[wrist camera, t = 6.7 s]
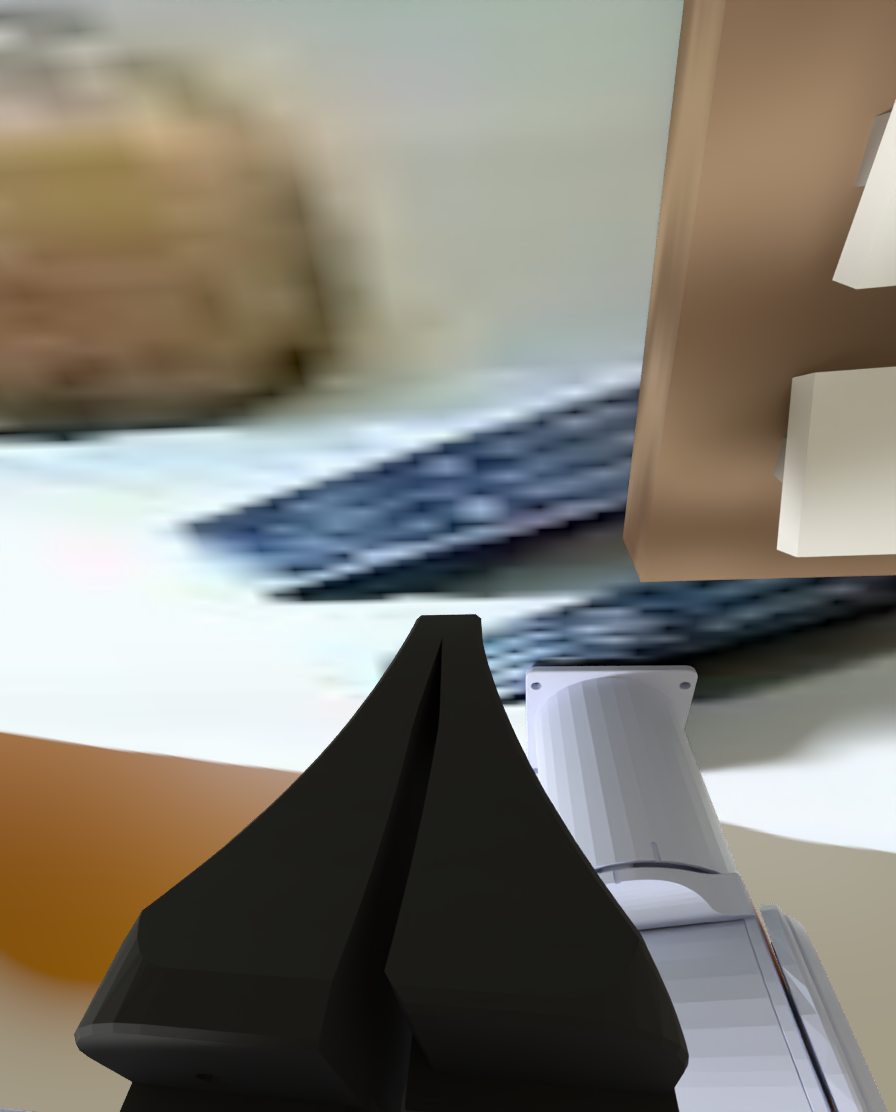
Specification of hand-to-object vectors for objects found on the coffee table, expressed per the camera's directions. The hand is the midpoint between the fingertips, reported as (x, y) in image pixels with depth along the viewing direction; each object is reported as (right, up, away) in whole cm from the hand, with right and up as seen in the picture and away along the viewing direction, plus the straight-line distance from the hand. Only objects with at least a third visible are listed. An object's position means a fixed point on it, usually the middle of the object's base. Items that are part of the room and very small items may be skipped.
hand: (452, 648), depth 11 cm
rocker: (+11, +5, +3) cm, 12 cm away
